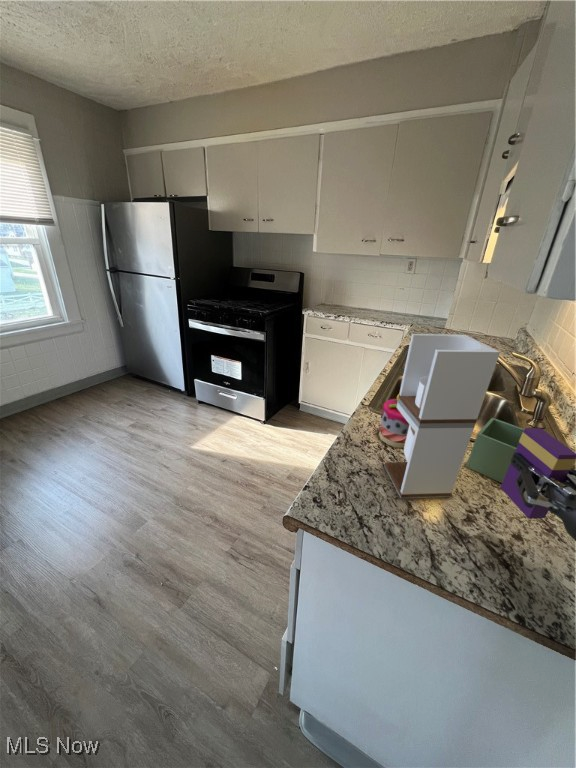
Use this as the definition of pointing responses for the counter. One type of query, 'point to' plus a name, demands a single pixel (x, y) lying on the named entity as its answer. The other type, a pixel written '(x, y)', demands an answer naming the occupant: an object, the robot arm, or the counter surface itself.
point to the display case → (439, 410)
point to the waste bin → (494, 449)
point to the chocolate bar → (538, 465)
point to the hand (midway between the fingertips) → (523, 457)
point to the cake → (393, 425)
